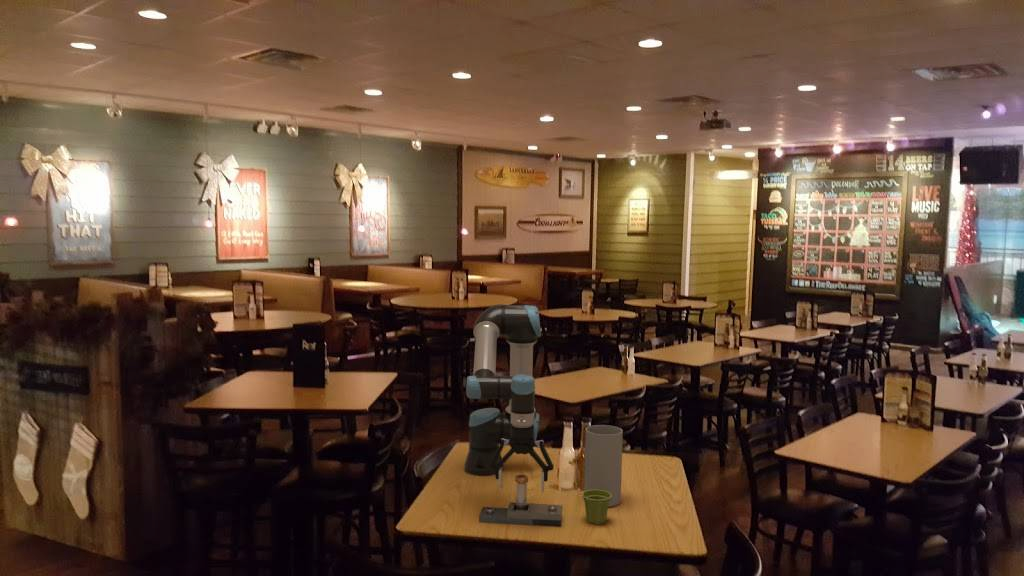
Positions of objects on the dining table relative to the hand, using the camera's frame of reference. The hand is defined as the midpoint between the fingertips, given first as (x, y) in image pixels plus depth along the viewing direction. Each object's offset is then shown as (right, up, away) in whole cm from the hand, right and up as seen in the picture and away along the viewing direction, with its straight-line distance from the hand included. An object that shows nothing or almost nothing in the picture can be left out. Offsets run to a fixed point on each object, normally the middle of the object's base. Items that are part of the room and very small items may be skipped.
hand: (521, 490), depth 236 cm
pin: (0, -10, +1) cm, 10 cm away
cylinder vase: (+28, -9, +18) cm, 34 cm away
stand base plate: (0, -10, +1) cm, 10 cm away
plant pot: (+24, -10, +1) cm, 26 cm away
